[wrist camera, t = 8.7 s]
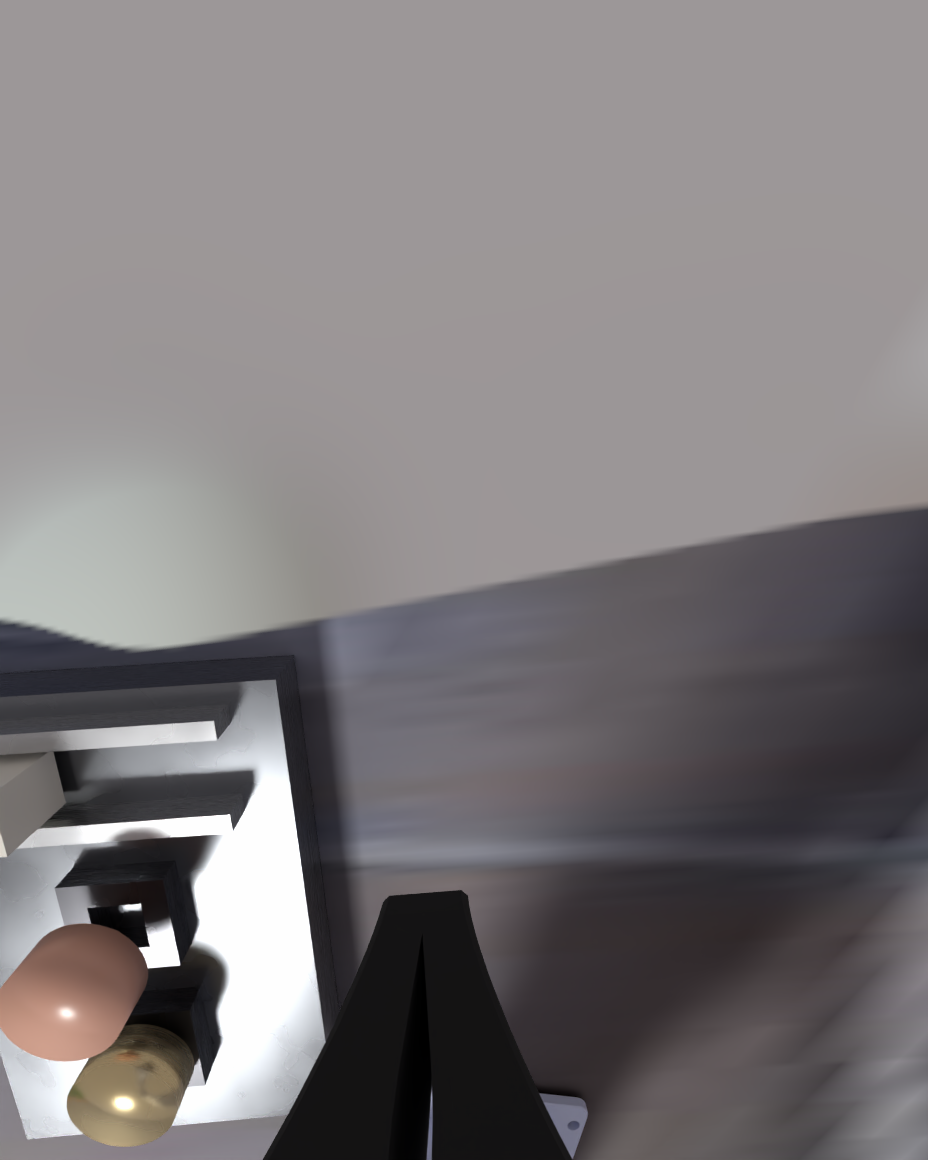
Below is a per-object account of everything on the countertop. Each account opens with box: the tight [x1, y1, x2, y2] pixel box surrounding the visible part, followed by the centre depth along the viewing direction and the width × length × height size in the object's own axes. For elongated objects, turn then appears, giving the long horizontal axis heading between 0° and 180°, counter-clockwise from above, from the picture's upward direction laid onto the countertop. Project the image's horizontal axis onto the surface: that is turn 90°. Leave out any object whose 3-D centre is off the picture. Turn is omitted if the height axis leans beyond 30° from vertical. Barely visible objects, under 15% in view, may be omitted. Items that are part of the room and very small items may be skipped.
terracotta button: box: [0, 923, 148, 1062], centre depth 15 cm, size 3×3×2 cm
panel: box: [0, 655, 339, 1139], centre depth 18 cm, size 17×11×3 cm, turn 3°
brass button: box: [67, 1024, 194, 1147], centre depth 17 cm, size 3×3×2 cm
